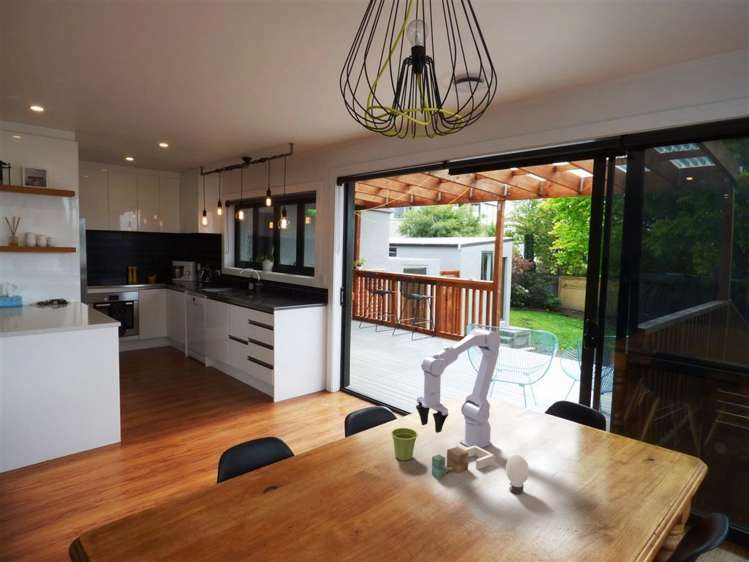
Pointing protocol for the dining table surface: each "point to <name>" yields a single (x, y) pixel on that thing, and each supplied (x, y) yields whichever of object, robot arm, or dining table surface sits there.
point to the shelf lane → (480, 456)
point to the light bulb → (517, 473)
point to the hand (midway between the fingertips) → (431, 428)
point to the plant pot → (404, 442)
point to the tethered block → (450, 462)
